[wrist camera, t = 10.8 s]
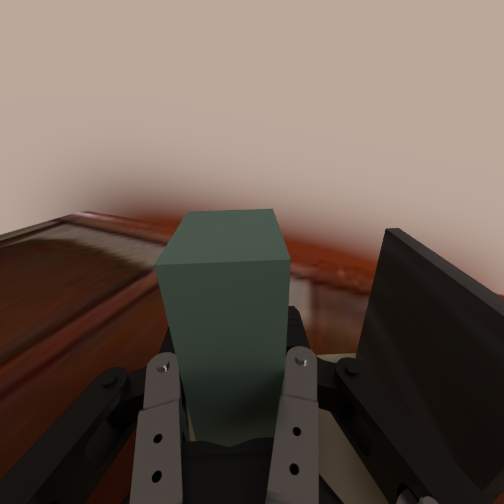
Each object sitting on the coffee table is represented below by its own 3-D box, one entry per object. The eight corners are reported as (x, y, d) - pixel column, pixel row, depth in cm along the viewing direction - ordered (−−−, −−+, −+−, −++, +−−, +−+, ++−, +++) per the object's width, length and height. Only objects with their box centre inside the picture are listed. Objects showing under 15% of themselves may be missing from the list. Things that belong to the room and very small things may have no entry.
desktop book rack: (355, 365, 22) (390, 222, 16) (458, 585, 12) (674, 414, 6) (198, 372, 22) (171, 230, 16) (157, 604, 11) (29, 448, 5)
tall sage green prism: (270, 383, 18) (272, 207, 12) (279, 474, 13) (290, 259, 7) (214, 386, 18) (188, 210, 12) (204, 478, 13) (154, 264, 7)
